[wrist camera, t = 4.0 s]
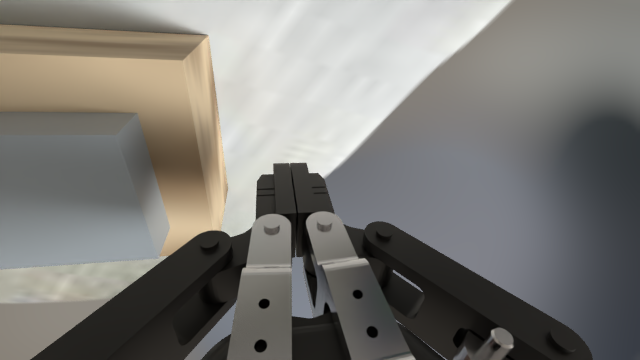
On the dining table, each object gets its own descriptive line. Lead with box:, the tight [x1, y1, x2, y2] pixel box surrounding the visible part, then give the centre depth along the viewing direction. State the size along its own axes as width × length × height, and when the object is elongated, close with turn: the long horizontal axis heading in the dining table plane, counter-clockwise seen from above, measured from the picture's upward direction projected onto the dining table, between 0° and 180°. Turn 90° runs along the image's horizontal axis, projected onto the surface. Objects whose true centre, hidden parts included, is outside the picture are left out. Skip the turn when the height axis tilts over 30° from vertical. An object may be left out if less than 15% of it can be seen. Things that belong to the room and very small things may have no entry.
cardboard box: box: [0, 24, 228, 256], centre depth 15 cm, size 10×12×6 cm
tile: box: [0, 112, 170, 269], centre depth 12 cm, size 6×6×2 cm
